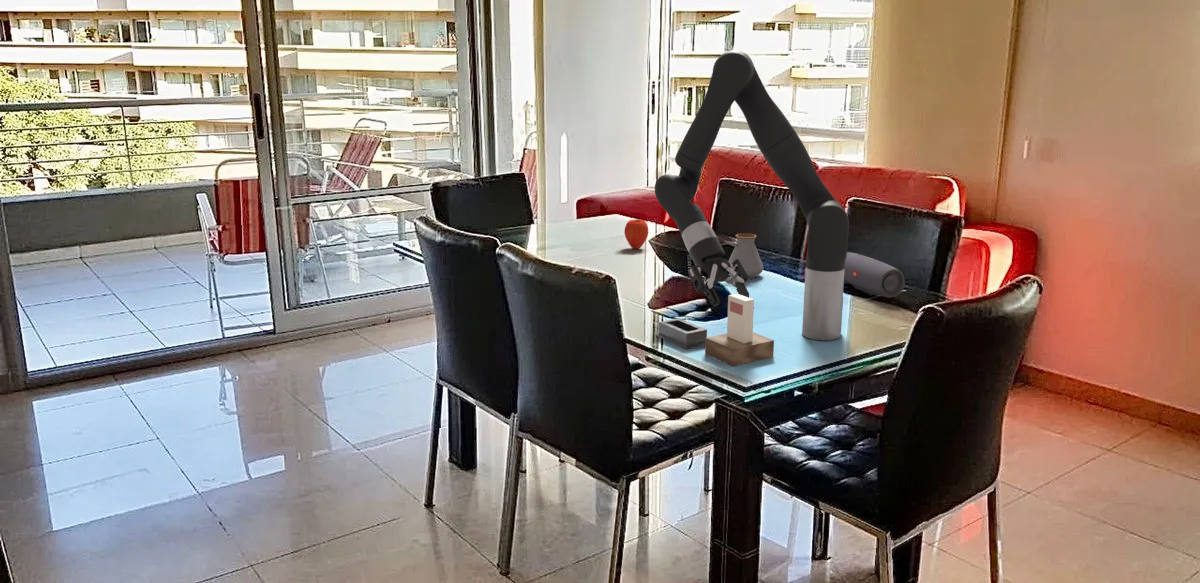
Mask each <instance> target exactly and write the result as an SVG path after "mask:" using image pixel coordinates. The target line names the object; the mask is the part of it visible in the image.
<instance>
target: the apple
mask: <svg viewBox="0 0 1200 583" xmlns="http://www.w3.org/2000/svg"><path fill="white" fill-rule="evenodd" d="M648 236H649V227H648V224H647V222H646V221H645V220H644V219H638V218H636V219H630V220H628V221H627V223H625V226H624V237H625V240H626V242H627V243H628V244H629V246H630V248H631V249H633V250H636V249H638V250H639V249H641V248H642V247H643V245H644V244H645V242H646V240H647V238H648Z"/></svg>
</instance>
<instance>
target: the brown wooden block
mask: <svg viewBox="0 0 1200 583" xmlns="http://www.w3.org/2000/svg"><path fill="white" fill-rule="evenodd" d="M704 346H705V347H704V348H705V350H704V355H706V356H708V355H709V356H708V357H710V356H711V358H713V357H714V358H713V359H715V358H716V359H715V360H718V361H719V360H720V362H721V363H724V362H725V363H724V364H726V363H727V364H726V365H729V366H731V367H736V366H740V364H741V365H745V364H748V363H753V361H754V362H757V360H758V361H761V360H765V359H771V358H774V353H775V352H774V346H775V340H774V339H771V338H770V337H767V336H764V335H761V334H758V333H756V332H754V331H753V338H752V342H748V343H742V342H739V341H737V340H734V339H732V338H729V337H727V332H726V333H722V334H717V335H713V336H712V335H711V336H707V338H706V339H705V345H704ZM770 357H771V358H770ZM744 363H745V364H744Z"/></svg>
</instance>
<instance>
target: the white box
mask: <svg viewBox="0 0 1200 583" xmlns="http://www.w3.org/2000/svg"><path fill="white" fill-rule="evenodd" d="M727 298H728V299H727V300H728V301H727V331H726V333H727V337H729V338H732V339H734V340H737V341H739V342H742V343H748V342H752V338H753V332H754V309H755V308H754V307H755V306H754V305H755V299H754V298H752V297H751V298H750V297H749V298H748V297H745V296H743V295H740V294H738V293H733V294H729V295H728V296H727Z"/></svg>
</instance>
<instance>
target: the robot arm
mask: <svg viewBox="0 0 1200 583" xmlns="http://www.w3.org/2000/svg"><path fill="white" fill-rule="evenodd" d="M734 102H735V103H736V104H737V106H738V107H739V109H740V110H741V112H742V114H743V116H744V118H745V121H746V123H747V126H748V128H749V130H750V133H751V135H752V137H753V140H754V141H755V143H756V145H757V147H758V150H759V151H760V153H761V154H762V155H763V157H764V158H765V160H766V162H767V164H768V165H769V167H770V168H771V170H772V171H773V172H774V174H776V176H777V177H778V178H779V179H780V181H782V183H783V184H784V185H785V186H786V188H788V189H789V191H790V192H791V194H792V195H793V197H794V198H795V199H796V202H797V203H798V205H799V207H800V209H801V211H802V213H803V214H802V215H803V216H804V218H805V220H806V223H807V226H808V234H807V235H808V236H807V238H808V239H807V252H806V256H805V272H804V273H805V274H804V289H803V290H804V292H803V308H802V309H803V311H802V312H803V313H802V325H801V326H802V327H801V332H802V333H801V334H802V336H803V337H806V338H807V339H809V340H815V341H816V340H817V341H832V340H833V341H834V340H838V339H839V338H841V333H842V325H843V324H842V322H843V309H844V308H843V307H844V306H843V305H844V287H845V286H844V285H845V280H844V270H845V260H846V257H847V252H848V243H849V235H850V234H849V230H850V220H849V219H850V218H849V216H848V214H847V212H846V210H845V209H844V208H843V206H842V205H841V204H840V202H838V201H837V199H836V198H835V197H834V196H833V194H831V192H830V191H829V189H828V188H827V186H826V185H825V184H824V183H823V181H822V180H821V178H820V177H819V174H818V172H817V171H816V168H815V165H814V163H813V160H812V159H811V157H810V155H809V152H808V151H807V148H806V146H805V145H804V143H803V141H802V139H801V138H800V136H799V135H798V134H797V131H796V130H795V128H794V127H793V126H792V124H791V123H790V122H789V121H790V120H788V118H787V117H786V115H785V114H784V113H783V112H782V110H781V109H780V108H779V106H778V105H777V104H776V102H775V101H774V100H773V99H772V97H771V96H770V95H769V92H768V91H767V90H766V88H765V86H764V84H763V81H762V79H761V78H760V76H759V73H758V72H757V68H756V67H755V65H754V63H753V60H752V59H751V57H750V56H749V55H748V54H747V53H746V52H744V51H742V50H739V49H738V50H737V49H732V50H727V51H725V52H723V53H722V54H720V56H718V58H716V60H715V62H714V63H713V67H712V73H711V77H710V80H709V83H708V87H707V90H706V93H705V96H704V98H703V101H702V103H701V105H700V107H699V110H698V111H697V114H696V115H695V117H694V119H693V121H692V122H691V124H690V125H689V129H688V130H687V132H686V134H685V136H684V137H683V140H682V142H681V144H680V146H679V148H678V150H677V152H676V155H675V157H674V161H675V162H674V163H675V164H676V166H678V167H680V170H679V173H678V175H674V174H667V173H666V174H661V176H659V177H658V178H657V180H656V181H655V184H654V193H655V194H654V195H655V198H656V199H657V201H658V203H659V204H660V206H661V207H662V208H663V210H664V212H666V213H667V214H668V216H669V217H670V218H671V219H672V220H673V222H675V225H676V227H677V229H678V231H679V233H680V235H681V237H682V240H683V243H684V245H685V248H686V249H687V251H688V253H689V255H690V257H691V260H692V261H693V263H694V265H693V266H692V267H691V268H690V269H689V270H688V273H687V274H688V275H689V278H690V281H691V282H692V284H693V287H694V290H695V291H696V293H698V294H699V293H703V294H705V295H706V297H707V299H708V301H709V303H710V304H711V305H712V306H713V307H718V306H719V305H720V304H721V300H720V298H719V296H718V293H717V292H716V289H715V288H713V286H714V284H717V283H724V282H725V283H726V284H728V285H731V286H733V287H734V288H736V289H735V290H736V292H737V294H740V295H743V296H745V297H748V298H750V292H749V290H748V288H747V286H746V285H745V284H746V283H747V282H748V281H749V280H750V279H749V277H748V275H747V273H746V271H745V270H744V268H743V266H742V265H741V263H740V261H739V260H738V259H735V260H734V261H733V262H728V261H729V260H727V259H726V253H725V251H724V249H723V247H722V244H721V242H720V241H719V240H718V239H717V237H718V236H717V235H716V233H715V231H714V229H713V227H712V226H711V225H710V224H709V222H708V220H707V218H706V216H705V214H704V211H703V210H702V209H701V207H700V206H699V205H697V204H696V203H693V202H692V201H693V199H694V198H695V197H696V194H697V191H698V188H699V184H700V183H699V182H700V178H701V175H702V169H703V166H704V165H705V162H706V160H707V159H708V157H709V155H710V153H711V151H712V149H713V146H714V144H715V141H716V139H717V137H718V134H719V131H720V128H721V126H722V124H723V121H724V120H725V118H726V116H727V113H728V112H729V111H730V108H731V107H732V105H733V104H734ZM716 236H717V237H716ZM741 275H742V276H743V278H742V276H741ZM702 276H703V277H704V279H703V277H702ZM729 276H730V277H729Z"/></svg>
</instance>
